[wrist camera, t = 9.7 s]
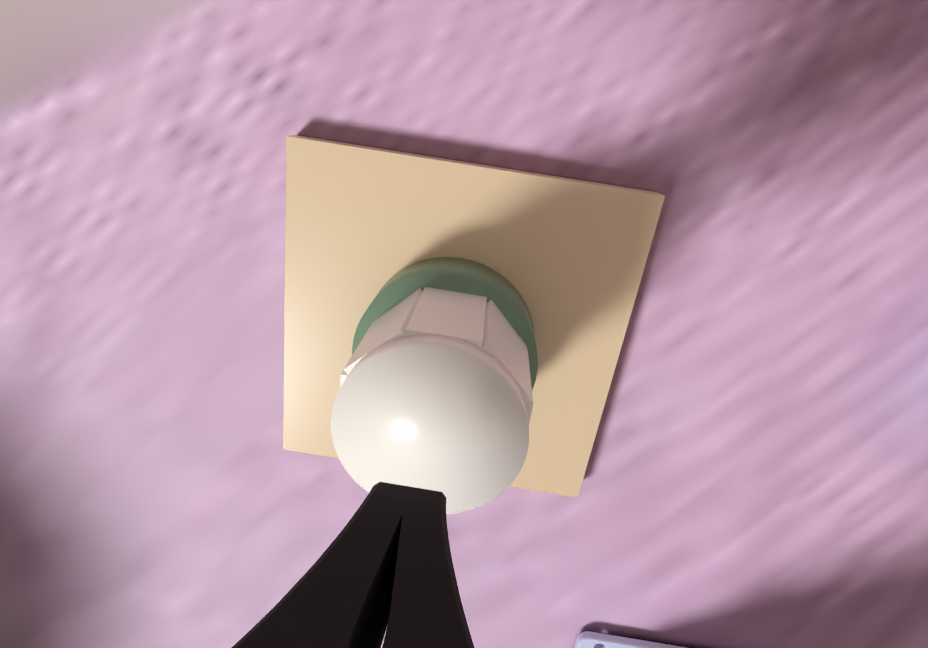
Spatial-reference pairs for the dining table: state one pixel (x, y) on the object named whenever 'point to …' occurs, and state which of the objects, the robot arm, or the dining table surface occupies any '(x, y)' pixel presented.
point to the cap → (436, 400)
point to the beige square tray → (461, 279)
